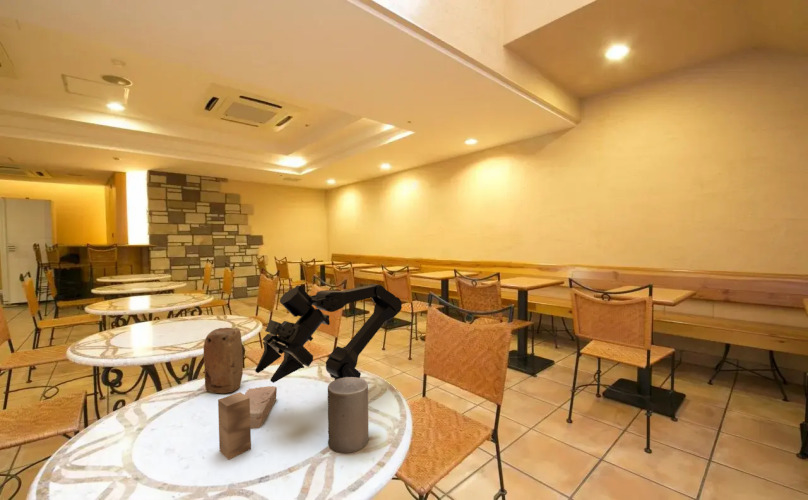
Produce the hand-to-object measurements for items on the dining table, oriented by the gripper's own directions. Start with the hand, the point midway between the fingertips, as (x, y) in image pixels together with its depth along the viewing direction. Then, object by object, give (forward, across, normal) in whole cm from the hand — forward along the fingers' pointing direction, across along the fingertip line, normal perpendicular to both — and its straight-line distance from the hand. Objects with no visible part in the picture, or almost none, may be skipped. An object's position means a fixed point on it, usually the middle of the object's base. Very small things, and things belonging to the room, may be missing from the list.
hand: (263, 376), depth 85 cm
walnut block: (+15, +2, +5) cm, 16 cm away
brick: (+8, -12, +12) cm, 19 cm away
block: (+9, -36, +12) cm, 39 cm away
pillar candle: (0, +19, +19) cm, 27 cm away
